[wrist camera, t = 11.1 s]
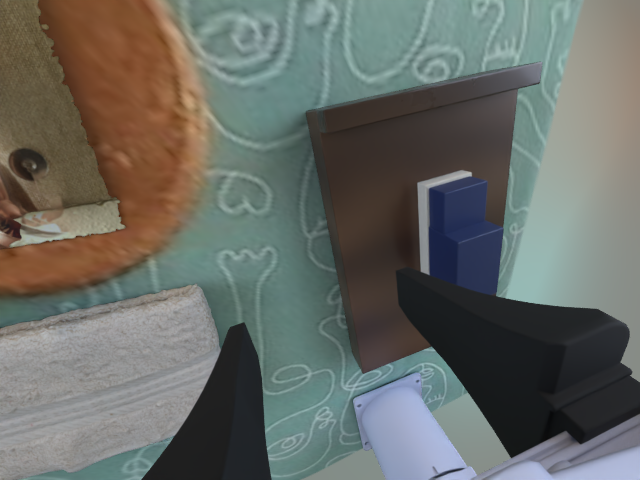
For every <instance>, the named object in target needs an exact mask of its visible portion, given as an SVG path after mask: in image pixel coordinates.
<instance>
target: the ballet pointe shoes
mask: <svg viewBox="0 0 640 480" xmlns="http://www.w3.org/2000/svg"><path fill="white" fill-rule="evenodd" d="M38 3H39V2H38V0H0V249H4V248H9V247H11V248H12V247H16V246H24V245H25V244H28V245H30V244H31V243H37V244H38V243H41V242H44V241H47V240H49V241H50V242H51V241H52V240H57V239H58V240H62V239H64V238H65V239H67V238H70V239H71V238H75V237H76V236H78V235H81V236H83V237H84V236H86V235H88V233H89V235H90V236H91V233H93V234H96V233H98V234H102V233H106V232H111V231H115V230H116V229H118V230H120V229H124V228H126V227H125V225H121V223H120V221H121V220H120V219H121V217H117V216H118V215H119V214H120V213H119V211H118V205H117V203H119V202H120V201H119V200H117V199H116V198H117V197H115V198H111V196H109V195H108V194H107V193H108V190H107V189H106V188H105V185H106V184H105V183H104V181H103V179H104V178H103V177H101V175H100V174H99V173H98V171H99V170H98V167H96V166H98V162H97V159H96V158H95V152H94V151H93V148H92V147H90V146H87V145H88V143H89V142H88V141H87V140H86V138H87V135H86V131H85V128H83V127H82V126H81V122H83V121H82V120H81V119H80V117H81V115H80V113H79V109H78V108H77V107H75V106H74V102H72V100H74V98H73V96H72V95H71V94H70V89H69V87H68V85H63V84H61V83H62V82H63V80H64V77H65V74H64V73H63V67H62V66H61V65H60V64H59V63H58V60H59V57H57V56H55V57H52V56H51V55H52V53H53V52H54V51H53V50H51V49H50V47H52V46H53V45H54V41H53V39H50V38H47V35H46V33H44V32H42V30H43V29H42V28H39V27H40V23H39V22H38V21H39V19H38V17H39V16H40V15H41V11H40V10H39V9H38V5H37V4H38ZM41 26H42V27H43V28H44V29H46V30H48V29H49V28H48V25H45V24H44V25H41ZM64 81H65V80H64Z"/></svg>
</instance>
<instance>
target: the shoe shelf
mask: <svg viewBox="0 0 640 480" xmlns="http://www.w3.org/2000/svg"><path fill="white" fill-rule="evenodd" d="M541 70H542V62H536V63H530V64H525V65H519V66H513V67H507V68H502V69H496V70H490V71H486V72H481V73H477V74H472V75H468V76H463V77H458V78H454V79H449V80H445V81H440V82H436V83H431V84H427V85H422V86H418V87H413V88H408V89H404V90H399V91H395V92H390V93H386V94H381V95H377V96H372V97H367V98H363V99H358V100H354V101H349V102H345V103H340V104H336V105H331V106H327V107H322V108H317V109H313V110H308V111H306V116H307V122H308V127H309V132H310V137H311V142H312V147H313V152H314V158H315V163H316V168H317V173H318V178H319V183H320V188H321V194H322V199H323V204H324V209H325V214H326V219H327V224H328V230H329V235H330V240H331V245H332V250H333V255H334V260H335V266H336V271H337V276H338V281H339V286H340V291H341V296H342V302H343V307H344V312H345V317H346V322H347V327H348V332H349V338H350V343H351V348H352V353H353V356H354V357H355V359H356V361H357V363H358V365H359V367H360V369H361V371H362V373H363V374H364V373H367V372H369V371H372V370H374V369H376V368H379V367H381V366H384V365H386V364H389V363H391V362H394V361H396V360H399V359H401V358H404V357H406V356H409V355H411V354H414V353H416V352H419V351H421V350H424V349H426V348H429V347H431V345H430V344H429V343H428V342H427V340H426V339H425V338H424V337H423V336H422V335H421V334H420V333H419V331H418V330H417V329H416V328H415V327H414V326H413V325H412V323H411V322H410V321H409V320H408V318H407V317H406V315H405V314H404V312H403V311H402V309H401V308H400V306H399V304H398V292H397V281H396V270H399V269H402V268H405V267H410V268H412V269H415V270H418V271H420V272H421V264H420V238H419V212H418V186H417V183H418V182H422V181H425V180H429V179H432V178H436V177H439V176H443V175H446V174H450V173H453V172H457V171H460V170H464V171H468V172H471V173H472V177H475V178H479V179H483V180H487V181H488V185H487V199H486V212H485V220H486V221H488V222H491V223H493V224H495V225H498V226H500V227H503V224H504V215H505V205H506V196H507V187H508V177H509V168H510V158H511V149H512V140H513V130H514V121H515V111H516V102H517V93H518V89H519V88H523V87H527V86H532V85H536V84H539V83H540V78H541ZM492 295H493V296H496V293H495V294H492Z"/></svg>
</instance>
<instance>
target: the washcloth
mask: <svg viewBox="0 0 640 480" xmlns="http://www.w3.org/2000/svg"><path fill="white" fill-rule="evenodd" d="M220 351H221V349H220V346H219V335H218V331H217V327H216V325H215V320H214V319H213V317H212V314H211V308H210V307H209V305H208V302H207V300H206V298H205V296H204V293H203V290H202V289H201V288H200V287H198V286H197V283H196V284H195V285H192V286H191V285H188V286H186V287H181V288H179V289H170V290H168V291H165V290H161V291H160V292H159V293H156V294H147V295H143V296H140V297H137V298H131V299H125V300H123V301H117V302H115V303H108V304H105V305H103V304H102V305H95V306H93V307H91V308H85V309H77V310H75V311H73V310H71V311H70V312H67V313H63V314H59V315H57V316H51V317H47V318H44V319H43V320H39V321H37V320H34V321H30V322H21V323H18V324H15V325H11V326H6V327H4V328H0V480H18V479H23V478H27V477H30V476H34V475H39V474H43V473H46V472H51V471H58V470H65V471H67V472H69V473H73V472H76V471H79V470H82V469H84V468H86V467H88V466H89V465H91V464H93V463H95V462H97V461H100V460H104V459H106V458H109V457H112V456H114V455H117V454H120V453H123V452H127V451H130V450H134V449H137V448H141V447H145V446H148V445H150V444H151V443H157V442H159V441H162V440H164V439H166V438H169V437H172V436H174V435H176V433H177V432H178V430H179V429H180V427H181V426H182V424H183V423H184V421H185V420H186V418H187V417H188V415H189V413H190V412H191V410H192V408H193V407H194V405H195V403H196V401H197V400H198V398H199V396H200V394H201V392H202V391H203V389H204V387H205V385H206V382H207V380H208V378H209V376H210V374H211V372H212V370H213V368H214V366H215V363H216V361H217V359H218V356H219V354H220Z"/></svg>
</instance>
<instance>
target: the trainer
mask: <svg viewBox="0 0 640 480" xmlns="http://www.w3.org/2000/svg"><path fill="white" fill-rule="evenodd" d="M487 185H488V181H487V180H483V179H479V178H475V177H472V173H471V172H468V171H464V170H460V171H457V172H453V173H450V174H446V175H443V176H439V177H436V178H432V179H429V180H425V181H422V182H418V183H417V186H418V212H419V238H420V264H421V272H423V273H426V274H428V275H431V276H433V277H436V278H439V279H441V280H444V281H447V282H449V283H452V284H455V285H458V286H461V287H464V288H467V289H470V290H474V291H477V292H481V293H485V294H489V295H492V294H495V293H497V285H498V276H499V267H500V257H501V248H502V239H503V227H500V226H498V225H495V224H493V223H491V222H488V221H486V220H485V212H486V199H487Z"/></svg>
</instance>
